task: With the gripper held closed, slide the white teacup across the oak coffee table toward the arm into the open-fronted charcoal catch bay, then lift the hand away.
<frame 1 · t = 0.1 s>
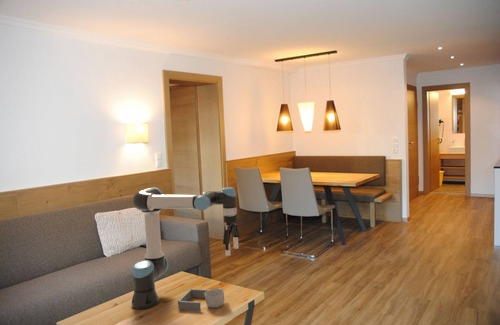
hand: (232, 252, 230), 28 cm above the table, fingers open, 13 cm apart
teacup: (216, 305, 226), on the table
catch bay: (196, 303, 230), on the table
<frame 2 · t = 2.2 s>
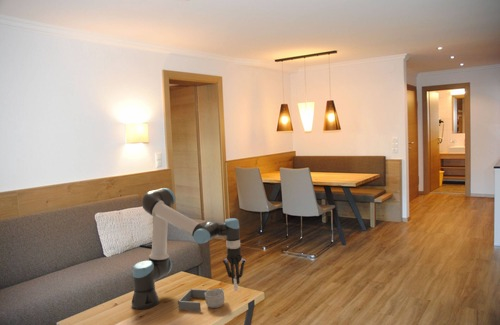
hand: (236, 289, 223), 10 cm above the table, fingers closed
nothing on the table moved.
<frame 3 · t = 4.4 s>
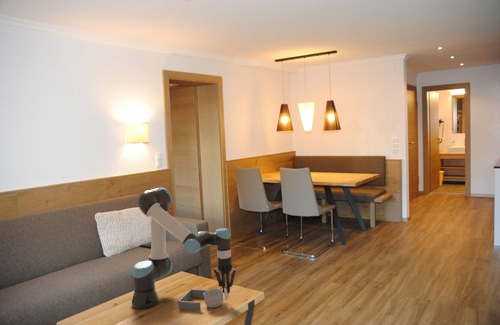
hand: (226, 298, 225), 4 cm above the table, fingers closed
teacup: (215, 304, 227), on the table, touching gripper
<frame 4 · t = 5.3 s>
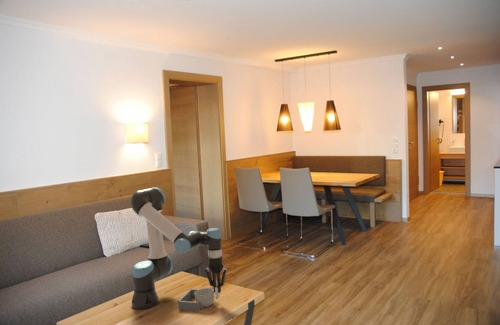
hand: (217, 298, 226), 4 cm above the table, fingers closed
teacup: (207, 304, 228), on the table, touching gripper
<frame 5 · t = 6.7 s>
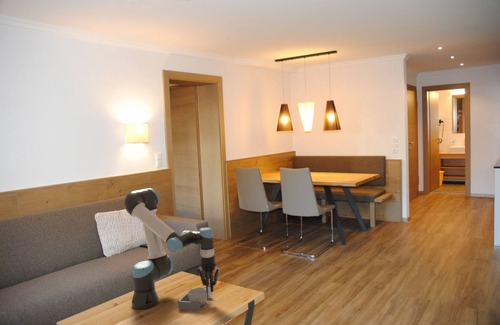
hand: (210, 297, 227), 4 cm above the table, fingers closed
teacup: (200, 303, 229), on the table, touching gripper
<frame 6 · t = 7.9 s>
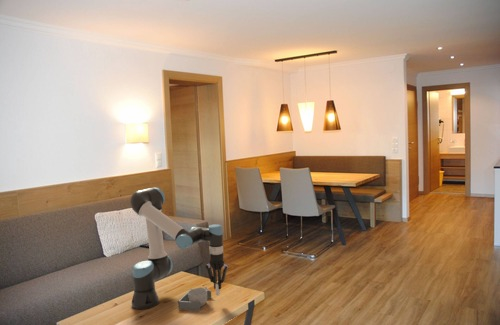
hand: (217, 294, 226), 6 cm above the table, fingers closed
teacup: (200, 304, 229), on the table
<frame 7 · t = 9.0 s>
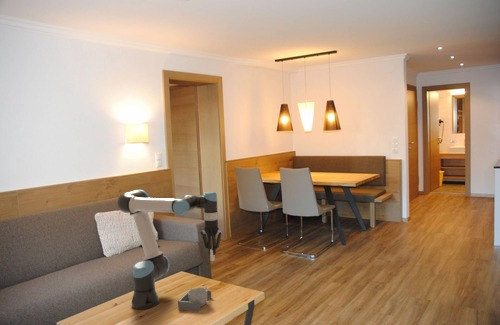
hand: (212, 260, 231), 24 cm above the table, fingers closed
nothing on the table moved.
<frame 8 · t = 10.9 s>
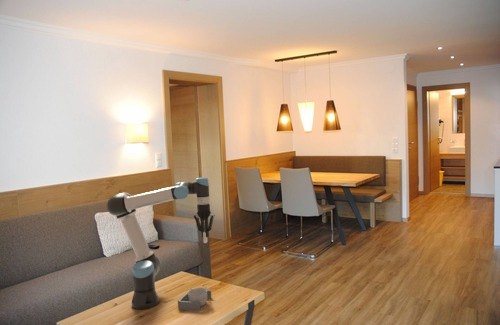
hand: (205, 242, 244), 30 cm above the table, fingers closed
nothing on the table moved.
at the end: teacup inside the target area on the catch bay (2.5 cm from its centre), point 0.0 cm above the catch bay's base; teacup tilted 0°; teacup moved 10.0 cm from its start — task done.
